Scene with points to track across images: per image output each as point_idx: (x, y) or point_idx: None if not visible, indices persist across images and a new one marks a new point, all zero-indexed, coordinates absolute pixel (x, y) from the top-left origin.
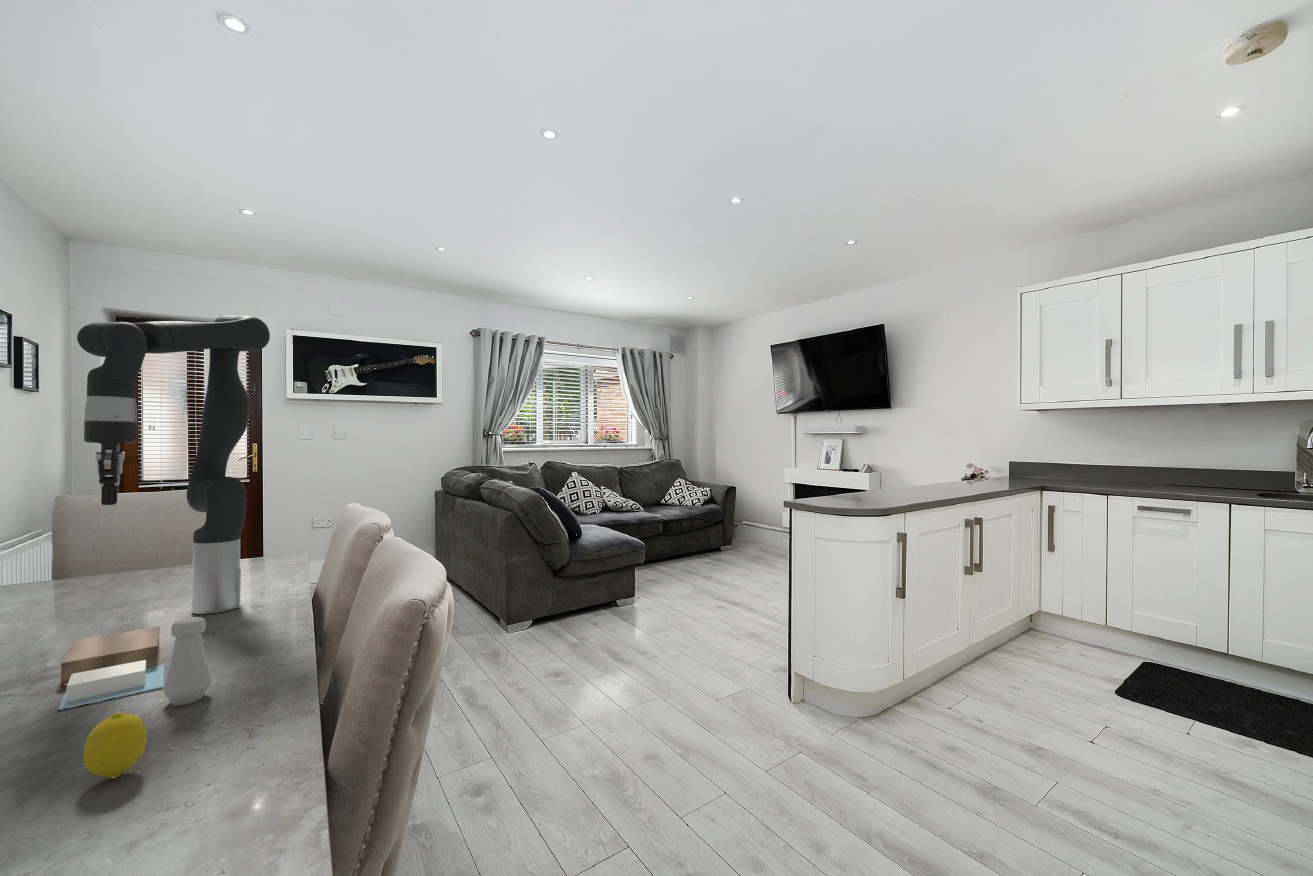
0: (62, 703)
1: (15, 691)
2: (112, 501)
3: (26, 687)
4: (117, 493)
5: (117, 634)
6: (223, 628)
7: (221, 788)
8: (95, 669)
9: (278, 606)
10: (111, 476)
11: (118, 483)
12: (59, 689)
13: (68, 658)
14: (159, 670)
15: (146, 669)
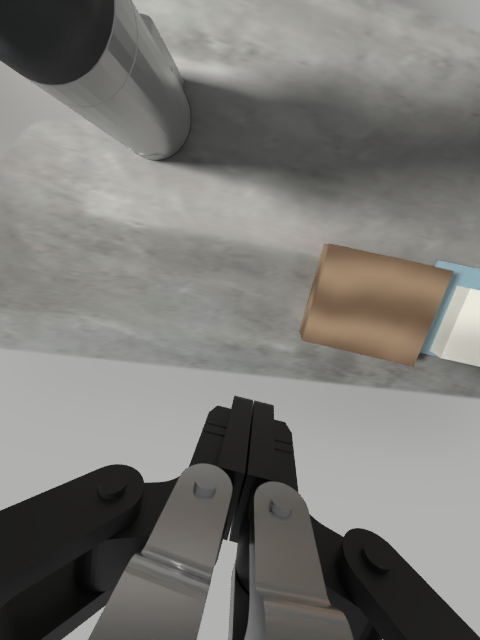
0: None
1: (368, 384)
2: (287, 429)
3: (363, 375)
4: (227, 427)
5: (324, 296)
6: (307, 145)
7: None
8: (449, 337)
9: (231, 7)
10: (104, 565)
11: (292, 500)
12: None
13: (398, 358)
14: (460, 270)
15: None
